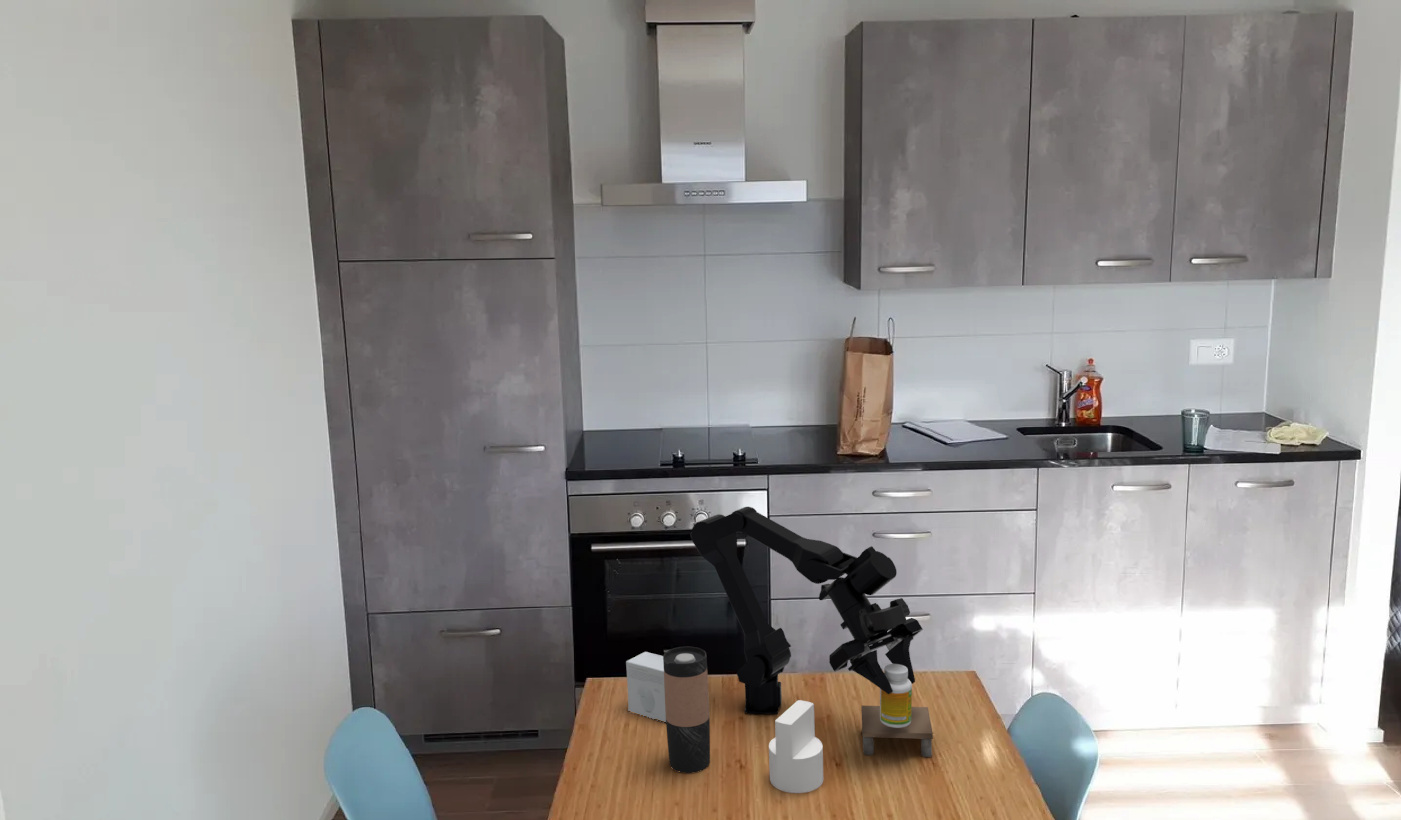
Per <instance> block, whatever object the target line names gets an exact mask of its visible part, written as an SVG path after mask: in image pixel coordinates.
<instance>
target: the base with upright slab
mask: <svg viewBox="0 0 1401 820" xmlns="http://www.w3.org/2000/svg"><path fill="white" fill-rule="evenodd" d="M774 726H775V728H774V730H775V733H774V734H775V737H774V738H772V739H771V740H770V741H769V743H768V760H769V761H768V763H769V780H770V784H771V785H772V786H773V787H774V788H776V789H777V790H780V791H782V792H785V793H790V794H803V793H804V794H805V793H808V792H809V793H810V792H812V791H815V790H817V789H818V788H820V787H821V786H822V784H823V783H824V753H823V748H824V747H823V742H822V741H821V739H819V738H818V737H816V734H815V704H814V703H813V702H812V701H811V702H810V701H807V700H801V699H800V700H799V699H797V700H796V701H795V702H794V703H793V704H792V705H791V706H790V707H789V708H788V709H786V710H785V711H784V712H783V713H782V714H781V715H780V716H779V717H777V718H776V719H775V720H774Z"/></svg>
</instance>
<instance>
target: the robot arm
mask: <svg viewBox="0 0 1401 820" xmlns="http://www.w3.org/2000/svg"><path fill="white" fill-rule="evenodd" d="M691 530H692V531H691V532H690V538H691V541H692V544H693V545H694V546H695V548H696V550H697V551H698V553H699V555H700V556H701V557H702V558H703V559H705V560H706V561H707V562H708V563H710V564H711V565H712V566H713V567H714V570H715V572H716V574H717V576H718V579H719V580H720V583H721V585H722V587H723V589H724V592H725V593H726V596H727V598H728V601H729V603H730V605H731V607H732V609H733V610H732V611H733V612H734V614H735V616H736V618H737V622H738V623H739V625H740V627H741V629H742V632H743V635H744V636H743V637H744V641H743V643H744V644H743V652H744V653H743V654H744V655H745V659H746V662H745V663H744V664H743V665H742V666H741V667H740V668H739V669H738V670H737V671H736V675H737V678H738V681H739V683H741V684H744V695H745V696H744V698H745V700H744V702H745V705H744V710H743V711H744V714H746V715H747V714H754V715H755V714H756V715H778V714H779V710H780V709H779V708H781V707H782V700H783V697H782V682H781V681H779V675H780V674H781V673H783V672H784V669H785V667H786V666H788V664H789V663H790V659H791V657H792V653H791V649H790V648H791V647H792V645H791V644H790V643H789V641H788V640H787V638H786V635H785V632H784V630H783V628H782V627H779V628H777V629H776V628H774V627H773V626H771V625H770V624H769V622H768V621H767V619H766V617H765V615H764V612H763V610H762V607H761V606H760V604H759V601H758V599H757V597H756V595H755V592H754V590H753V588H752V586H751V584H750V581H749V579H748V577H747V575H746V573H745V570H744V568H743V565H742V564H741V561H740V560H739V557H738V554H737V553H738V551H737V550H738V537H737V534H736V533H737V532H740V533H742V534H743V535H746V536H748V537H750V538H751V539H752V540H754V541H756V542H758V543H760V544H762V545H764V546H765V547H767V548H769V549H770V550H772V551H774V552H776V553H778V554H779V555H781V557H783V558H786V559H787V560H789V561H790V562H791V563H792V564H793V566H794V568H795V570H796V571H797V572H798V573H800V574H801V575H802V576H803V577H805V579H807V580H808V581H809V582H811V583H813V584H818V585H819V584H821V586H820V592H819V594H818V600H819V601H824V600H829V599H830V600H831V602H832V603H833V605H834V607H835V609H836V611H837V612H838V614H839V615H840V617H841V619H842V621H843V622H841V623H840V626H841V628H842V630H845V629H848V631H849V633H850V634H851V636H852V638H853V639H852V640H849V641H847V642H844V643H842V644H841V645H839V646H838V647H837V648H836V649H835V650H834V651H833V652H831V653H830V654H829V657H828V658H829V659H828V662H829V665H830V666H831V669H832V670H833V672H834V673H835V672H837V671H841V670H843V669H846V667H848V663H849V664H851V665H850V666H849V667H848V668H847V670H848V671H849V672H851V671H852V672H855V673H856V674H858V675H860V676H861V677H863V678H864V679H866V680H867V681H868V682H870V683H872V684H873V685H875V686H876V687H878V688H879V690H880V689H882V690H883V691H884V692H886V693H887V694H890V693H892V692H893V690H892V688H891V685H890V683H889V681H888V679H887V678H886V676H885V674H884V671H883V668H882V667H881V665H880V663H879V661H878V650H877V649H881V648H883V647H886V648H887V652H886V653H884V655H885V657H886V658H887V659H888V660H889V662H891V664H900V665H903V666H905V667H907V669H908V679H909V680H910V681H911V684H912V685H913V684H914V683H916V677H915V673H914V669H913V664H912V660H911V653H910V646H911V641H913V640H914V637H916V636H917V635H918V634H919V633H921V632H922V631H923V630H924V629H923V627H922V626H921V624H920V622H919V620H918V619H916V618H914V617H913V618H912V617H910V618H908V619H907V617H908V616H910V614H911V611H910V608H909V605H908V604H907V602H906V601H905V600H904V599H903V598H902V597H901V598H897V599H894V600H890V602H889V606H888V607H886V608H881V607H880V605H879V604H878V603H876V602H874V603H871V601H870V600H869V599H868V597H867V596H873V595H875V594H876V593H877V592H879V590H881V589H882V588H883V587H885V586H886V585H887V584H889V583H890V582H891V581H893V580H894V579H895V578H896V577H897V568H896V567H897V566H896V565H895V563H894V562H893V560H892V558H890V557H889V556H887V555H886V554H884V553H883V552H880V551H877V550H876V549H875V548H874V546H872V545H871V546H869V547H867V548H866V549H864V550H863V551H861V553H860V555H859V556H858V557H857V556H854V555H852V554H848V553H846V552H843V551H842V550H841V548H839V547H838V546H836V545H834V544H831V543H830V542H829V543H828V542H826V541H823V540H818V539H810V538H807V537H803V536H801V535H800V534H797V533H796V532H794V531H793V530H790V529H789V528H786V527H785V526H784V525H781V524H779V523H777V522H776V521H774V520H772V519H770V518H769V517H767V516H765V515H763V514H762V513H760V512H758V511H757V510H756V509H755V508H754V507H751V506H743V507H741V508H739V509H737V510H734V511H732V512H731V513H730V514H727V515H723V514H721V513H719V514H718V513H717V514H716V515H715V514H714V515H712V516H710V517H707V518H705V519H703V520H699V521H698V522H696V523H695V524H693V526H692V529H691ZM844 575H846V576H845V577H843V576H844ZM829 580H830V581H831V580H832V582H831V583H825V582H827V581H829ZM823 583H824V584H823Z"/></svg>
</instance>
